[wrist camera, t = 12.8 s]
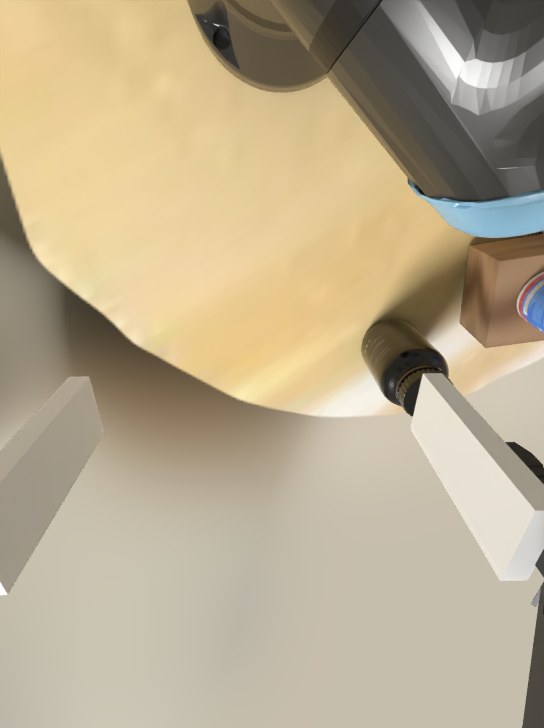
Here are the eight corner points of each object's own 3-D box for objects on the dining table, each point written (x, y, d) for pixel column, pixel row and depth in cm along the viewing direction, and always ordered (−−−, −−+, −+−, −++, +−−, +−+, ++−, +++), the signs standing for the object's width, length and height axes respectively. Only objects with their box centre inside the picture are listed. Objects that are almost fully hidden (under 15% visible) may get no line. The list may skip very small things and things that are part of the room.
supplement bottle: (426, 323, 42) (482, 373, 32) (403, 373, 45) (447, 434, 35) (371, 311, 41) (409, 359, 31) (351, 363, 44) (380, 422, 34)
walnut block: (469, 245, 38) (500, 261, 32) (560, 231, 37) (606, 245, 32) (459, 323, 42) (485, 347, 37) (540, 312, 42) (578, 335, 36)
